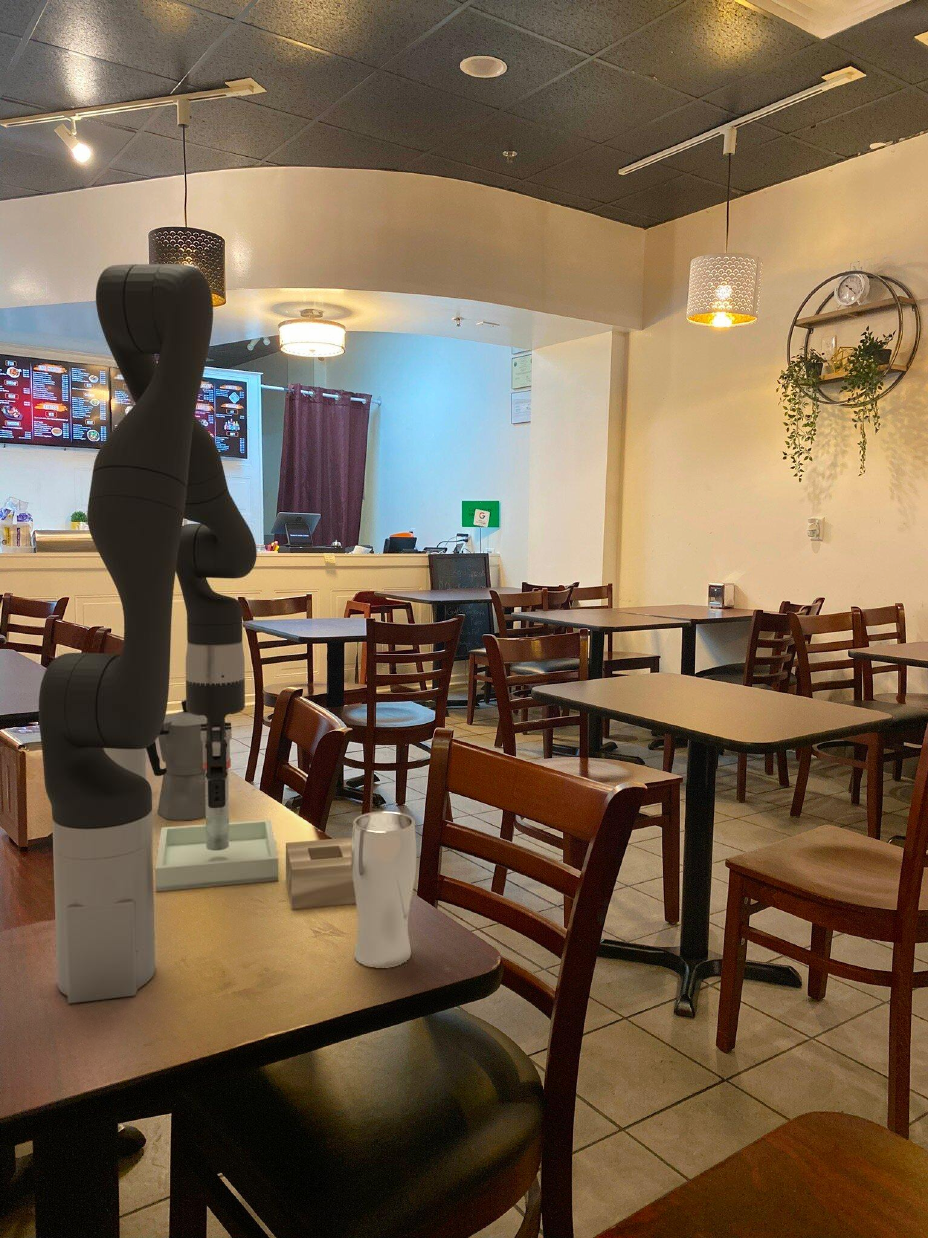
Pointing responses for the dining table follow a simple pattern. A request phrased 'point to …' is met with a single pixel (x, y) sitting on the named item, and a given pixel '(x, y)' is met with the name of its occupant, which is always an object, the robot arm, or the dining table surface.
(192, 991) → the dining table surface
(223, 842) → the pin
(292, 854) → the block
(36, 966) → the dining table surface
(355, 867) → the beer glass
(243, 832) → the tray
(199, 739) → the coffeepot
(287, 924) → the dining table surface
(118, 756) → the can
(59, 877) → the robot arm
